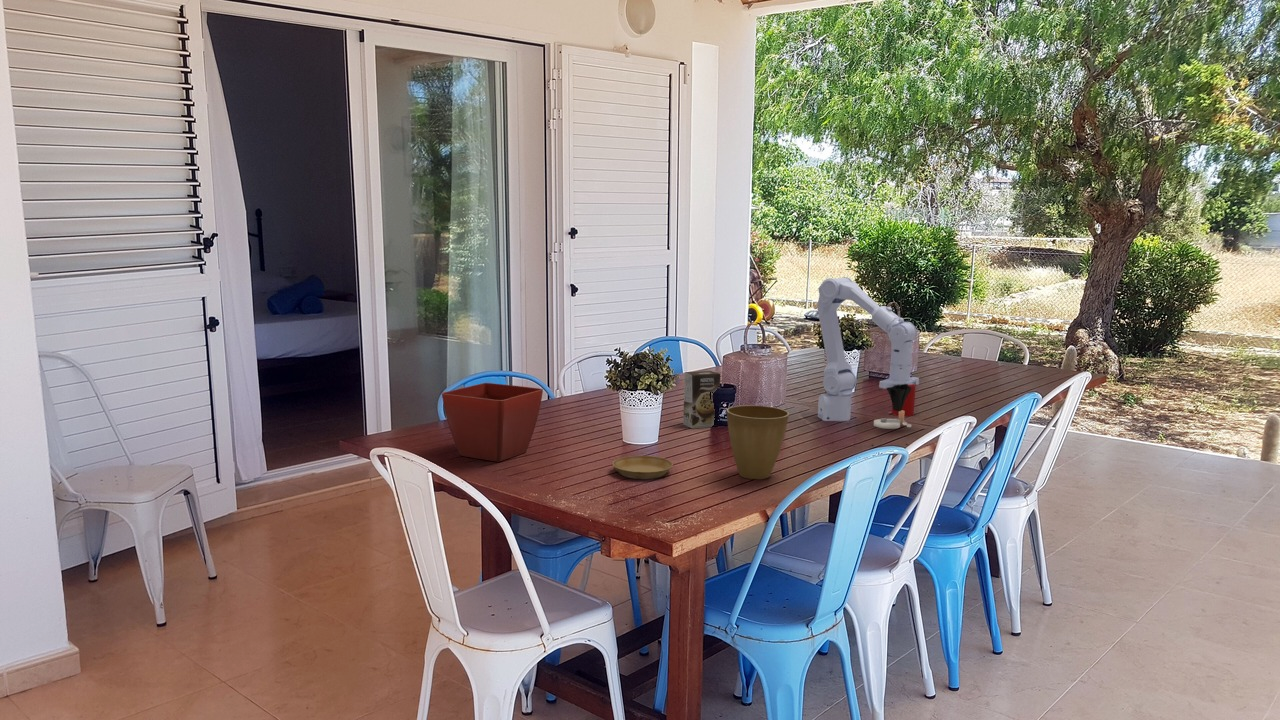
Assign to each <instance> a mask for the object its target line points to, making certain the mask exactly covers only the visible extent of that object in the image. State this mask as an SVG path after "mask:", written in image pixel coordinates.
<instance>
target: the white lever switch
mask: <svg viewBox="0 0 1280 720" xmlns="http://www.w3.org/2000/svg"><path fill="white" fill-rule="evenodd" d="M904 412H905V411H903V410H902V411H899V416H898V417H897V418H886V417H880V418H879V419H874V420H873V427H875V428H879V429H886V430H887V429H888V430H895V429H899V428H901V423H904V422H905V421H906V420H905V416H904Z"/></svg>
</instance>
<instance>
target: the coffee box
mask: <svg viewBox="0 0 1280 720" xmlns="http://www.w3.org/2000/svg"><path fill="white" fill-rule="evenodd" d="M718 386H720V387H718ZM717 388H720V389H721V373H720V372H717V371H716V372H715V371H713V370H704V371H703V370H702V371H685V372H684V388H683V389H684V390H683V391H684V392H683V393H684V394H683V411H682V412H683V413H682V414H683V416H682V417H683V418H682V422H683V423H682V425H683V426H685V427H688V428H690V429H692V430H693V429H702V428H704V429H705V428H713V427H712V426H713V425H714V420H715V418H714V417H715V409H714V403H713V393H714V392H715V391H716V390H717ZM710 392H711V399H710ZM712 392H713V393H712Z"/></svg>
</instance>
